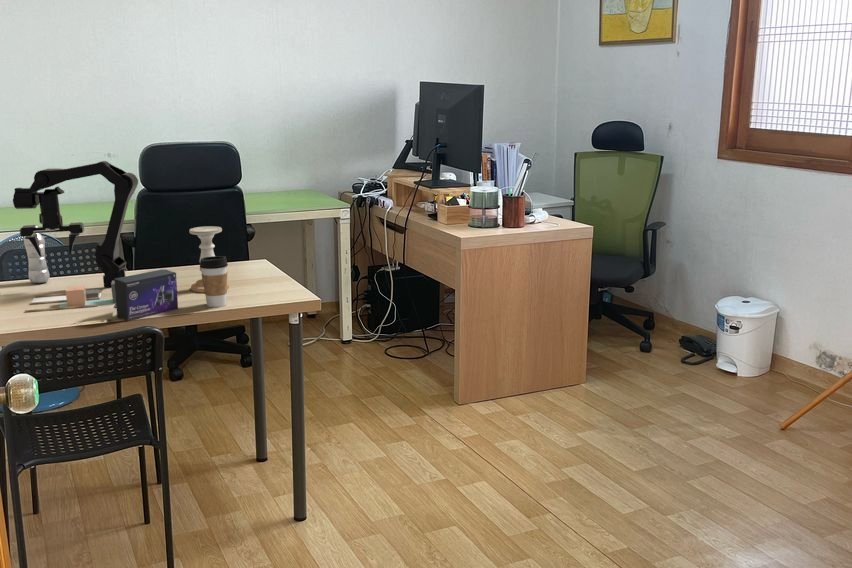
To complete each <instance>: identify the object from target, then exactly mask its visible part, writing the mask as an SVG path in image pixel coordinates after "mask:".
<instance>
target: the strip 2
mask: <svg viewBox="0 0 852 568" xmlns="http://www.w3.org/2000/svg"><path fill="white" fill-rule="evenodd" d="M110 288H111V297H112V298H103V299H99V300H87V302H86V305H96V304H97V306H104V305H105V306H107V305H108V306H109V305H114V306H113V307H114V308H116V294H115V281H114V280H113V281H112V283H111V287H110ZM59 307H67V302H62V303H59V306H58V308H59Z"/></svg>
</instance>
